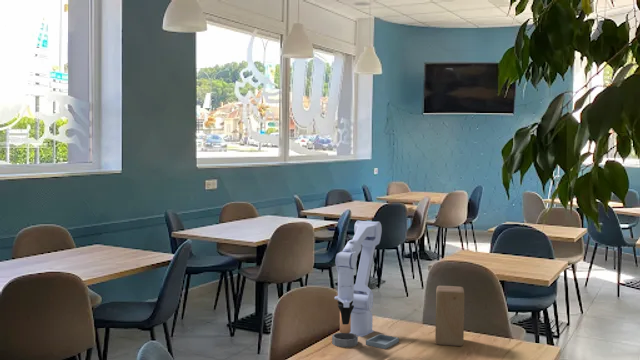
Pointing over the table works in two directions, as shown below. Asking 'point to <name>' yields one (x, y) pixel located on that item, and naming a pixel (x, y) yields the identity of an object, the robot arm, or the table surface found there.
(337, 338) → the grey round bowl
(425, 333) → the table surface
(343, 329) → the dowel
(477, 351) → the table surface
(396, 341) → the tray
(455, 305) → the wooden block
